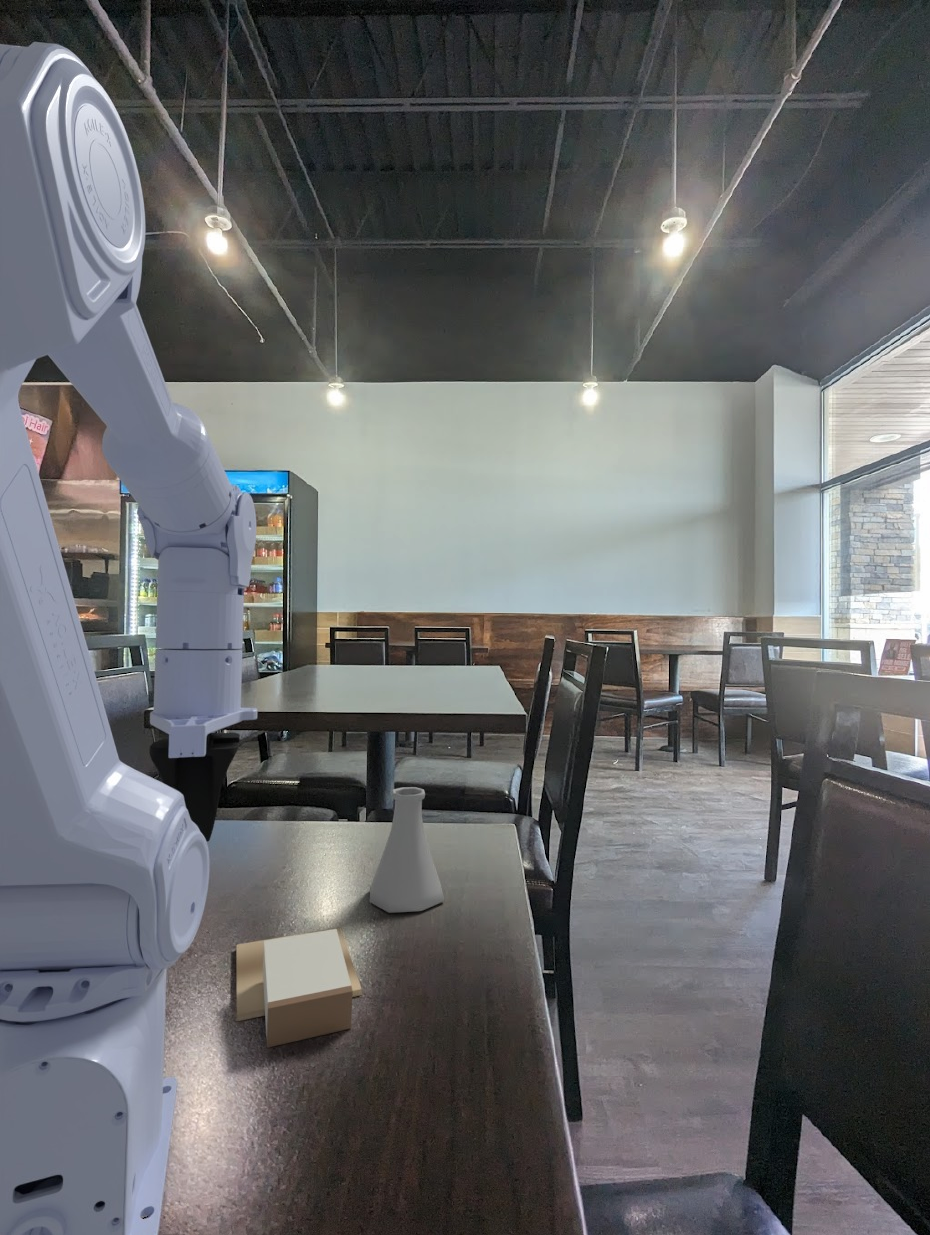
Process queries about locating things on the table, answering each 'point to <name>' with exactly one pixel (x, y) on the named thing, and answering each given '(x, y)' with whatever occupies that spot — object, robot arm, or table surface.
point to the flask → (406, 860)
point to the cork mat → (252, 976)
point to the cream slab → (305, 987)
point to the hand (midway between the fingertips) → (194, 840)
